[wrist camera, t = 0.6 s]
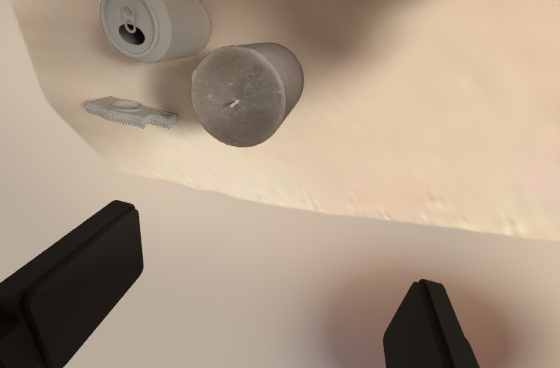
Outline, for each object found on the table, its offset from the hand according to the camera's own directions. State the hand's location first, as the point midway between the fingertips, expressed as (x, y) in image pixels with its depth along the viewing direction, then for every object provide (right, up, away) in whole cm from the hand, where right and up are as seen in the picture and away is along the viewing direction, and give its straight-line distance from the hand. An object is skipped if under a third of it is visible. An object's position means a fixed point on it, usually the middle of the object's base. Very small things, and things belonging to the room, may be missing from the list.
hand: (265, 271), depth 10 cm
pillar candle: (-1, +17, +30) cm, 35 cm away
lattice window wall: (-21, +15, +36) cm, 44 cm away
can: (-12, +24, +29) cm, 39 cm away
